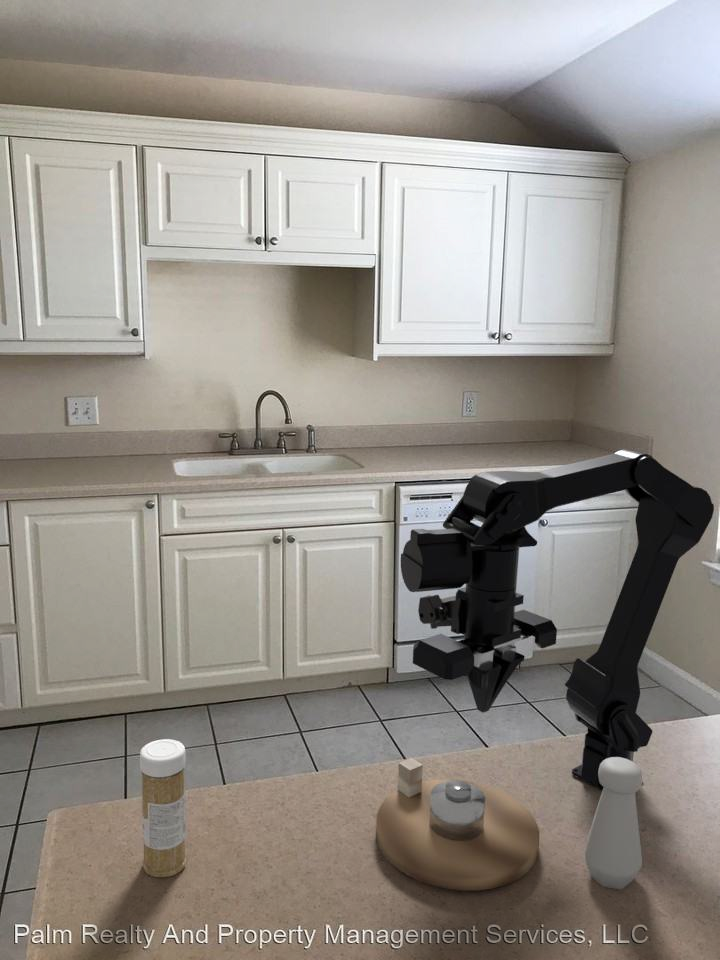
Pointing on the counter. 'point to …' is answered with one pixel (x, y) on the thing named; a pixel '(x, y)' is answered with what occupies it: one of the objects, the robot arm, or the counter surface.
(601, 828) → the salt shaker
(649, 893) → the counter surface
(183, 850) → the spice bottle
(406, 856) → the disc
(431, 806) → the cover
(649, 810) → the counter surface
